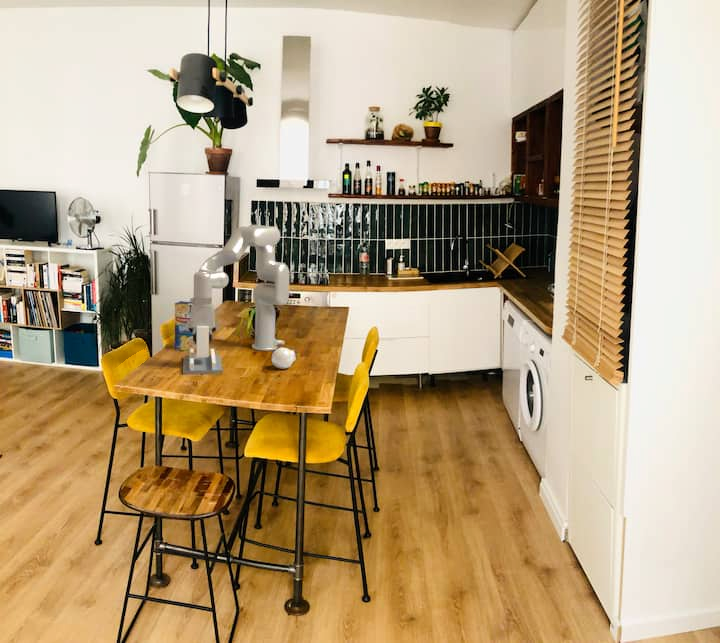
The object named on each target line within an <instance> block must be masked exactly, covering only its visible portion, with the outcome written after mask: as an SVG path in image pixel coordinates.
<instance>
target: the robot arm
mask: <svg viewBox="0 0 720 643" xmlns="http://www.w3.org/2000/svg"><path fill="white" fill-rule="evenodd" d="M280 240H281V232H280V229H279V228H277V227H276V226H271V225H270V226H269V225H261V224H252V225H248V226H245V225H244V226H238V227H237V228H236V229H235V230H234V231H233V233H232V235H231V236H230V238H229V239H228V241H227V242H226V244H225V246H224V247H223V248H222V249H221V250H219V251H217V252H216V253H213V255H211V256H210V257H208V258H207V259H206V260H205V261H204V262H203V264H202V265H201V266H200V268H199V270H198V271H197V272H195V273H194V274H193V297H192V298H190V299H189V302H194V304H192V306H191V315H190V320H189V321H188V322H187V323H186V324H185V327H186V328H187V329H188V330H189V331H190V332H191V333H192V334H193V341H195V344H196V329H197V327H209V344H211V342H212V341H213V338H212V336H213V335H214V334H213V333H215V332H216V331H217V330H218V329H220V328H221V325H220V324H219V322H218V321H217V320H216V317H215V305H214V304H213V302H212V298H213V295H212V294H213V291H212V290H213V289H217V290H218V289H224V288H225V287H227V286H228V284H229V280H230V279H229V275H228V274H227V273H226V272H224V271H220V270H219V269H220V268H223V267H225V266H228V265H232V264H235V263H236V262H238V261H239V260H240V259H241V257H242V256H243V255H244V253H245V251H246V250H247V248H248V247H254V249H255V251H256V275H257V277H258V279H259V280H261V281H266V282H261V283H258V284H257V285H256V286H254V289H253V300H254V306H255V308H254V309H255V321H254V322H255V323H254V324H255V325H254V326H255V327H254V334H255V335H254V343H253V344H251V348H252V349H253V350H256V351H266V352H268V351H275V350H277V349H278V348H279V345H285V340H282V339H276V309H275V307H274V305H275V306H284V305H286V304H287V303H288V300H289V299H290V298H289V296H290V269H289V266H288V265H287V264H286V263H284V262H279V261H276V253H275V252H276V251H275V248H274V246H275V245H277V244H278V243H279V242H280ZM267 282H274V283H267ZM189 325H191V327H192V328H193V329H192V328H191V327H190V326H189Z"/></svg>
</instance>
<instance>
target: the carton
mask: <svg viewBox="0 0 720 643" xmlns="http://www.w3.org/2000/svg"><path fill="white" fill-rule="evenodd" d="M209 347H210V343H209V327H197V330H196V348H197V351H196V355H197V357H209V355H210V354H209V353H210V352H209V350H210V348H209Z"/></svg>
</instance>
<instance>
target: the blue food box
mask: <svg viewBox="0 0 720 643" xmlns="http://www.w3.org/2000/svg"><path fill="white" fill-rule="evenodd" d="M192 304H194V302H190V301H183V300H180V301H178V302H175V303H174V350H176V349H177V350H179V351H188V350H189V352H190V349H194V352H197V348H196V344H195V341H193V334H192V333H191V332H190V331H189V330H188V329H187V328H186V327H185V324H186V323H187V322H188V321H189V320H190V315H191V306H192ZM189 326H190V327H191V325H189ZM191 328H192V327H191ZM192 329H193V328H192ZM196 330H197V329H196Z"/></svg>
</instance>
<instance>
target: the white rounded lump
mask: <svg viewBox="0 0 720 643" xmlns="http://www.w3.org/2000/svg"><path fill="white" fill-rule="evenodd" d="M296 360H298V355H297V352H296V350H295V349H289V348H287V347H281V346H280V347H278V348H277V349H275V350H273V352H272V354H271V362H272V364H273V366H274V367H275V368H277V369H279V370H281V369H282V370H286V369H288V368H289V367H291V366H292V364H293V362H295V361H296Z"/></svg>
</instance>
